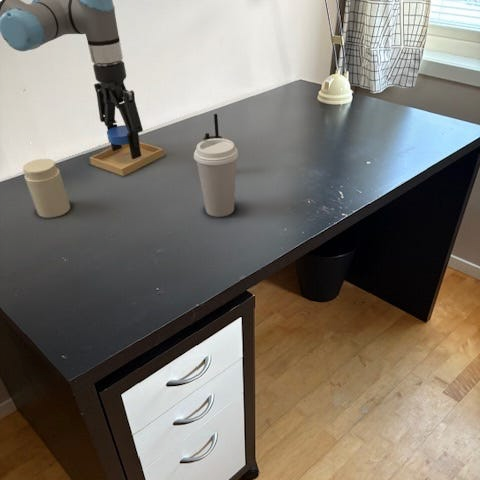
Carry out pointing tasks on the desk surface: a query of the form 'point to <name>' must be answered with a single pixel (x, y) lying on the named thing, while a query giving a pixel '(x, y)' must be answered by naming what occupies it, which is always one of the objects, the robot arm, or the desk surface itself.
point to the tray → (126, 158)
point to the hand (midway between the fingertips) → (126, 153)
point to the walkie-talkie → (215, 130)
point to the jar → (46, 188)
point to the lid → (118, 135)
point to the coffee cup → (217, 174)
